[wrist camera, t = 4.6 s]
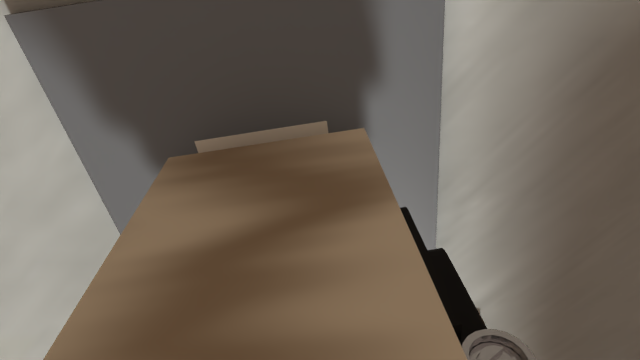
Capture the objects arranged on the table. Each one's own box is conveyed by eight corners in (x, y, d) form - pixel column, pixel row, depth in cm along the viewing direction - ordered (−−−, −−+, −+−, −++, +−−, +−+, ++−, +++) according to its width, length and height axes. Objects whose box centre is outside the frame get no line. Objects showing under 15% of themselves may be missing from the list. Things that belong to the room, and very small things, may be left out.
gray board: (442, -54, 10) (446, -54, 10) (431, 295, 18) (433, 300, 17) (11, 14, 10) (3, 15, 10) (178, 335, 18) (176, 340, 17)
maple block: (364, 127, 11) (479, 387, 4) (375, 272, 14) (454, 559, 7) (168, 157, 11) (-20, 460, 4) (221, 295, 14) (158, 601, 8)
